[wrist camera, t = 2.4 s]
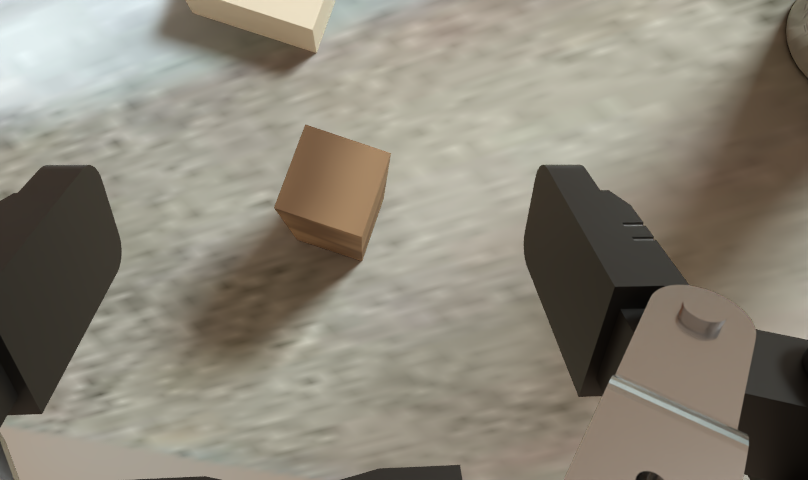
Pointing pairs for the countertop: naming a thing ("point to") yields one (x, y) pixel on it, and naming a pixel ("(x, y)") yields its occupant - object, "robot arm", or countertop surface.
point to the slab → (272, 18)
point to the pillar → (333, 192)
